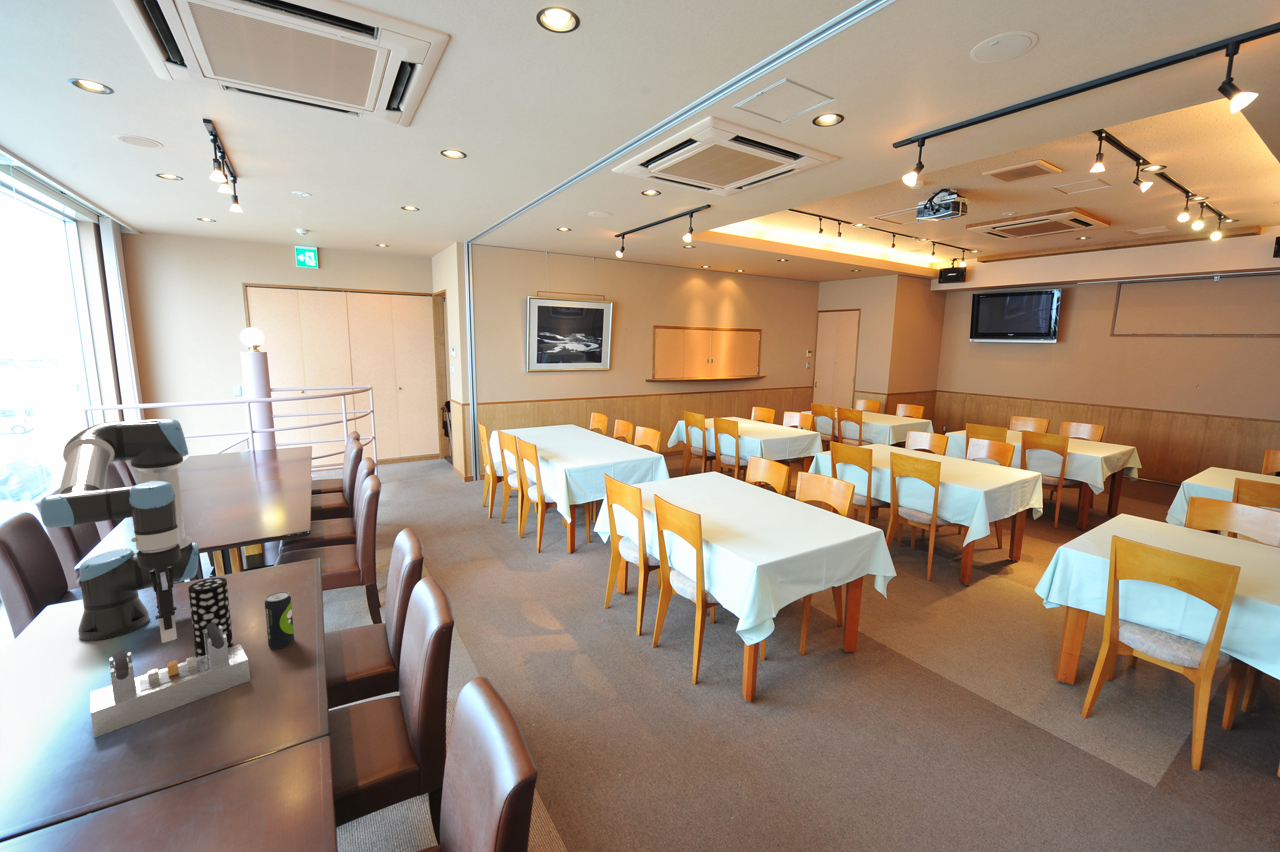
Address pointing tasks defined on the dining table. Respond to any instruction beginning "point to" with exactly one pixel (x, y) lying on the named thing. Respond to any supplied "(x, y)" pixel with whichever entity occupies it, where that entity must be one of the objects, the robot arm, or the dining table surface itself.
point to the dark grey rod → (215, 635)
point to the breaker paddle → (172, 668)
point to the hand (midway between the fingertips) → (169, 639)
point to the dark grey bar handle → (121, 664)
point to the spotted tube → (209, 610)
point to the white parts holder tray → (167, 686)
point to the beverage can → (279, 620)
